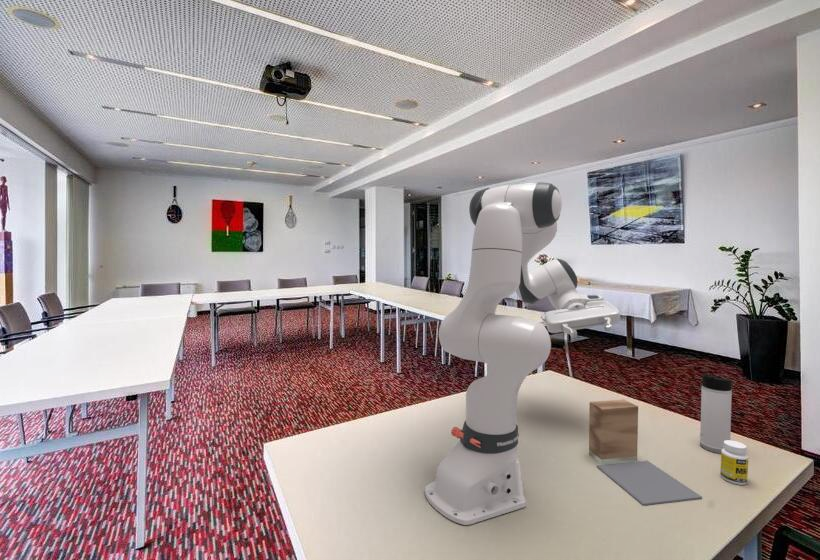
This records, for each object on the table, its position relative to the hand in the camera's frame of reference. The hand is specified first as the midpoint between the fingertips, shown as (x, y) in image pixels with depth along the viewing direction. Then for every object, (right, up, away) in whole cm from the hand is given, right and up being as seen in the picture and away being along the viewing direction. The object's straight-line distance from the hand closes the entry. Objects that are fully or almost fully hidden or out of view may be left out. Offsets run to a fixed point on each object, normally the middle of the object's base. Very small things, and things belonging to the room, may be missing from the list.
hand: (592, 332), depth 104 cm
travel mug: (+32, -31, -2) cm, 45 cm away
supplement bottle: (+25, -32, -17) cm, 44 cm away
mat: (+4, -32, -17) cm, 36 cm away
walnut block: (+2, -31, -6) cm, 32 cm away
